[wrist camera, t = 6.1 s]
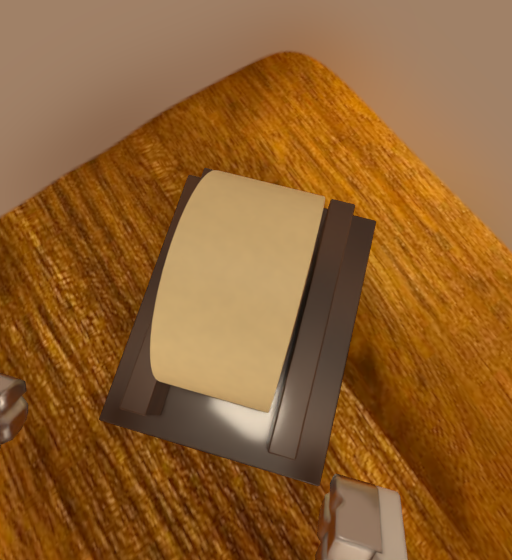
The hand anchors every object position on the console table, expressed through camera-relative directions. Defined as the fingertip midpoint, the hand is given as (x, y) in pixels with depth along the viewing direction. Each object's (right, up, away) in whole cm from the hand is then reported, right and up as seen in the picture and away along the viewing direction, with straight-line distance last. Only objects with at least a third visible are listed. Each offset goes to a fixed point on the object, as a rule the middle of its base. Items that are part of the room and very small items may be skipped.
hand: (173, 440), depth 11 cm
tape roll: (+2, +2, +12) cm, 12 cm away
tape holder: (+2, +2, +12) cm, 13 cm away
